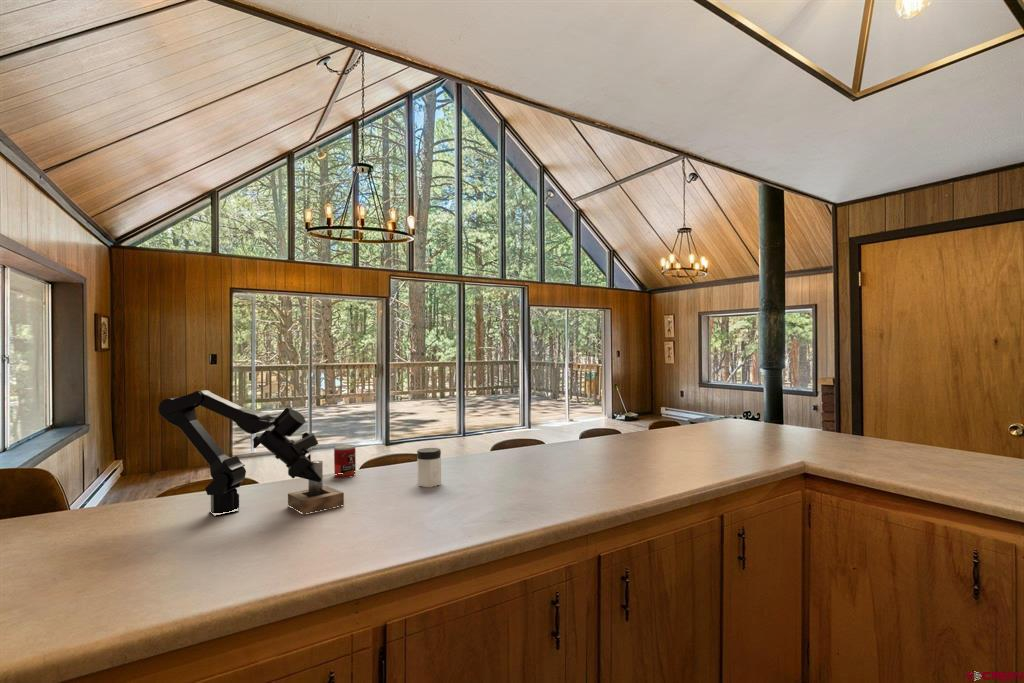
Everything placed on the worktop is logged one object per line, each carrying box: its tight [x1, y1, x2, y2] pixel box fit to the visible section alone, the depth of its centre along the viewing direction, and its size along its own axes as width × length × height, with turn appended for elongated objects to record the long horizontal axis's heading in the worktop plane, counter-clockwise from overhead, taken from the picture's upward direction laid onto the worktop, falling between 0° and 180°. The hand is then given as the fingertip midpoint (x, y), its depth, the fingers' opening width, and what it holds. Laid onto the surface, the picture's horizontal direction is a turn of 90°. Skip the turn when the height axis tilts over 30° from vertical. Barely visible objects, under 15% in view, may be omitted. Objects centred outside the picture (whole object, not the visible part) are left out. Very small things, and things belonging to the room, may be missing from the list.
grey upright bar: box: [307, 460, 324, 497], centre depth 151 cm, size 4×4×12 cm
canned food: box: [333, 444, 357, 479], centre depth 189 cm, size 8×8×11 cm
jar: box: [416, 447, 442, 488], centre depth 174 cm, size 9×8×12 cm
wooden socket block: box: [287, 485, 345, 514], centre depth 151 cm, size 12×12×4 cm
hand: (320, 479), depth 151 cm, fingers closed on grey upright bar, 4 cm apart
